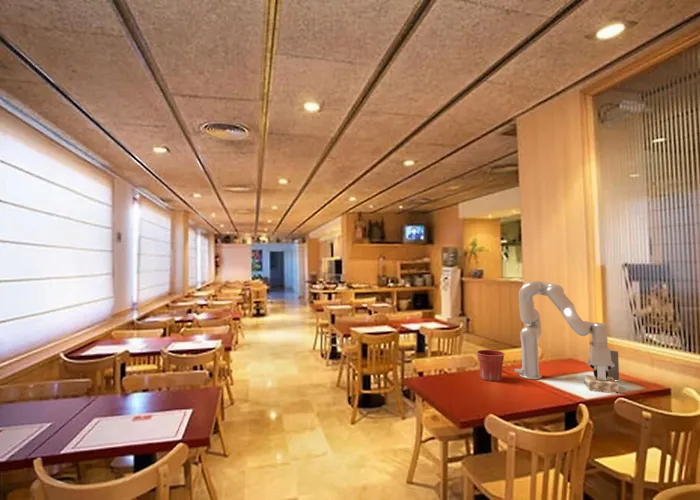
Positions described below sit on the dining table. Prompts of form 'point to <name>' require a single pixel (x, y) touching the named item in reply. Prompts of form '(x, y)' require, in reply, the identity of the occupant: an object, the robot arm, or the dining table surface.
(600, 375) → the light grey tall block
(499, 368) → the flower pot
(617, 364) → the hip flask
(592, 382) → the birch block
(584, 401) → the dining table surface
